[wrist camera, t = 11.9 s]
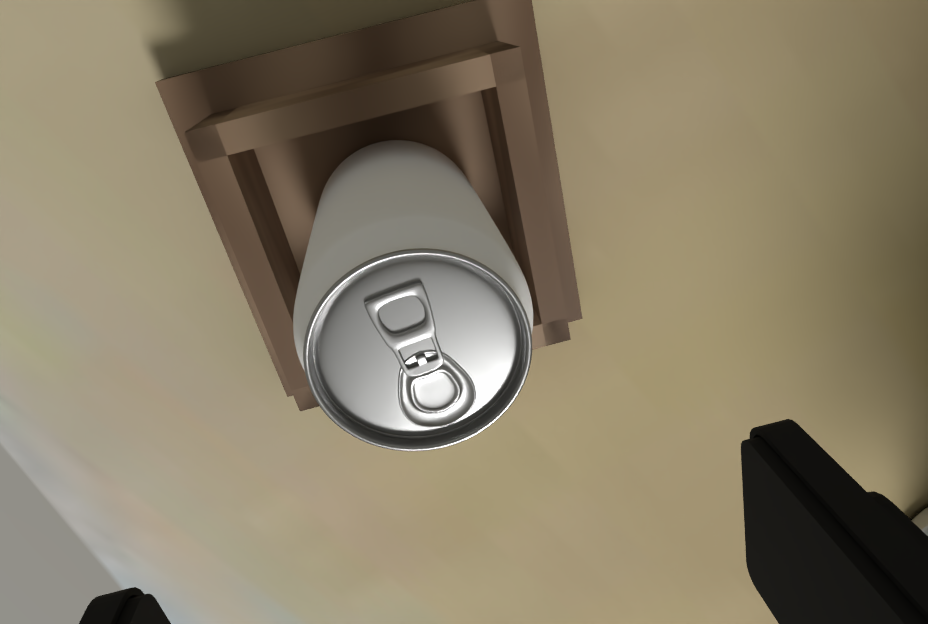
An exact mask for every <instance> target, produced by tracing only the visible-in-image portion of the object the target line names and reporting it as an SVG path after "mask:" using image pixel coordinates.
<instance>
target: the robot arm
mask: <svg viewBox="0 0 928 624" xmlns="http://www.w3.org/2000/svg"><path fill="white" fill-rule="evenodd" d="M741 460H742V480H743V501H744V522H745V542H746V562H747V568H748V572H749V575H750V577H751V580H752V582H753V584H754V586H755V587H756V589H757V591H758V592H759V594H760V595H761V597H762V598H763V600H764V601H765V603H766V604H767V606H768V608H769V609H770V611H771V612H772V614H773V615H774V617H775V618H776V620H777V621H778V623H779V624H928V507H927V508H926V509H924V510H923V511H921V512H920V513H919V514H918V515H917V516H916V517H915V518H913V519H912V520H910V519H909V518H908V517H907V516H906V515H905V514H904V513H903V512H902V511H901V510H900V509H899V508H898V507H897V506H896V505H895V504H894V503H892V502H891V501H890V500H889V499H887V498H886V497H885V496H883V495H882V494H879V493H877V492H874V491H873V492H866V491H865V490H864V489H863V488H862V487H861V486H860V485H859V484H858V483H857V482H856V481H855V480H854V479H853V478H852V477H851V476H850V475H849V474H848V473H847V472H846V471H845V470H844V469H843V468H842V467H841V466H840V465H839V464H838V463H837V462H836V461H835V460H834V459H833V458H832V457H831V456H830V455H828V454H827V453H826V452H825V451H824V450H823V449H822V448H821V447H820V446H819V445H818V444H817V443H816V442H815V441H814V440H813V439H812V438H811V437H810V436H809V435H808V434H807V433H806V432H805V431H804V430H803V429H802V428H801V427H800V426H799V425H798V424H797V423H796V422H794V421H793V420H790V419H786V420H783V421H779V422H775V423H771V424H767V425H763V426H759V427H755V428H753V429H752V430H751V432H750V439H748V440H744V441H742V443H741ZM79 624H171V623H170V621H169V620H168V618H167V617H166V615H165V613H164V612H163V610H162V609H161V607H160V605H159V604H158V602H157V601H156V599H155V598H154V597H153V595H151V594H144V593H143V592H142V591H141V590H140V589H138V588H136V587H134V588H129V589H125V590H121V591H117V592H114V593H110V594H105V595H102V596H98V597H96V598H95V599H93V600H92V601H91V603H90V604H89V605H88V607H87V609H86V611H85V613H84V615H83V617H82V619H81V621H80V623H79Z"/></svg>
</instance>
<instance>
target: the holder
mask: <svg viewBox="0 0 928 624" xmlns="http://www.w3.org/2000/svg"><path fill="white" fill-rule="evenodd" d="M155 83H156V86H157V88H158V91H159V93H160V95H161V98H162V100H163V102H164V105H165V107H166V110H167V112H168V114H169V117H170V119H171V121H172V124H173V126H174V129H175V131H176V133H177V136H178V138H179V140H180V143H181V145H182V148H183V150H184V152H185V155H186V157H187V159H188V162H189V164H190V167H191V169H192V171H193V174H194V176H195V178H196V181H197V183H198V186H199V188H200V190H201V193H202V195H203V197H204V200H205V202H206V205H207V207H208V209H209V212H210V214H211V216H212V219H213V221H214V224H215V226H216V228H217V231H218V233H219V235H220V238H221V240H222V242H223V245H224V247H225V250H226V252H227V254H228V257H229V259H230V261H231V264H232V266H233V269H234V271H235V273H236V276H237V278H238V280H239V283H240V285H241V288H242V290H243V292H244V295H245V297H246V299H247V302H248V304H249V307H250V309H251V311H252V314H253V316H254V318H255V321H256V323H257V326H258V328H259V330H260V333H261V335H262V337H263V340H264V342H265V345H266V347H267V349H268V352H269V354H270V356H271V359H272V361H273V364H274V366H275V368H276V371H277V373H278V375H279V378H280V380H281V383H282V385H283V387H284V390H285V392H286V394H287V397H289V396H292V395H293V396H294V398H295V401H296V403H297V405H298V408H299V410H300V411H303V410H307V409H311V408H314V407H318V406H319V404H318V403H317V401H316V400H315V398H314V396H313V394H312V392H311V390H310V387H309V385H308V382H307V378H306V375H305V371H304V369H303V367H302V365H301V362H300V360H299V357H298V354H297V351H296V346H295V341H294V332H293V314H294V305H295V299H296V294H297V289H298V285H299V280H300V276H301V272H302V268H303V263H304V259H305V255H306V251H307V247H308V243H309V239H310V235H311V231H312V227H313V223H314V220H315V216H316V212H317V208H318V205H319V201H320V198H321V195H322V192H323V189H324V187H325V185H326V183H327V181H328V179H329V178H330V176H331V175H332V173H333V172H334V171H335V169H336V168H337V167H338V166H339V165H340V164H341V163H342V162H343V161H344V160H345V159H346V158H347V157H349V156H350V155H351V154H353V153H354V152H356V151H358V150H360V149H362V148H364V147H366V146H368V145H371V144H374V143H378V142H383V141H389V140H406V141H413V142H417V143H421V144H424V145H427V146H429V147H432V148H434V149H436V150H438V151H439V152H441V153H442V154H444V155H445V156H447V157H448V158H449V159H450V160H452V161H453V162H454V163H455V164H456V165H457V166H458V167H459V168H460V170H461V171H462V172H463V174H464V175H465V176H466V178H467V179H468V181H469V182H470V184H471V185H472V187H473V189H474V190H475V192H476V193H477V195H478V197H479V198H480V200H481V202H482V203H483V205H484V206H485V208H486V210H487V211H488V213H489V215H490V216H491V218H492V220H493V221H494V223H495V225H496V226H497V228H498V230H499V231H500V233H501V235H502V236H503V238H504V240H505V241H506V243H507V245H508V247H509V248H510V250H511V252H512V254H513V255H514V257H515V259H516V261H517V262H518V264H519V266H520V268H521V270H522V273H523V275H524V277H525V279H526V282H527V285H528V288H529V292H530V296H531V300H532V307H533V330H532V350H533V349H536V348H540V347H544V346H548V345H551V344H555V343H559V342H563V341H567V340H570V333H569V328H568V322H572V321H575V320H579V319H582V314H581V307H580V301H579V295H578V288H577V282H576V276H575V270H574V263H573V257H572V251H571V245H570V238H569V232H568V226H567V219H566V213H565V207H564V201H563V194H562V188H561V182H560V176H559V169H558V163H557V157H556V151H555V144H554V138H553V132H552V125H551V119H550V113H549V107H548V100H547V94H546V88H545V82H544V75H543V69H542V63H541V56H540V50H539V44H538V38H537V31H536V25H535V19H534V13H533V6H532V0H474V1H470V2H466V3H462V4H458V5H454V6H450V7H446V8H442V9H438V10H434V11H431V12H427V13H423V14H419V15H415V16H411V17H407V18H403V19H399V20H395V21H391V22H387V23H383V24H379V25H375V26H371V27H367V28H363V29H359V30H356V31H352V32H348V33H344V34H340V35H336V36H332V37H328V38H324V39H320V40H316V41H312V42H308V43H304V44H300V45H296V46H292V47H288V48H284V49H281V50H277V51H273V52H269V53H265V54H261V55H257V56H253V57H249V58H245V59H241V60H237V61H233V62H229V63H225V64H221V65H217V66H213V67H209V68H206V69H202V70H198V71H194V72H190V73H186V74H182V75H178V76H174V77H170V78H166V79H163V80H160V81H157V82H155Z"/></svg>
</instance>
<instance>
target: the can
mask: <svg viewBox="0 0 928 624" xmlns="http://www.w3.org/2000/svg"><path fill="white" fill-rule="evenodd" d="M532 330H533V307H532V300H531V296H530V292H529V288H528V285H527V282H526V279H525V277H524V275H523V273H522V270H521V268H520V266H519V264H518V262H517V261H516V259H515V257H514V255H513V254H512V252H511V250H510V248H509V247H508V245H507V243H506V241H505V240H504V238H503V236H502V235H501V233H500V231H499V230H498V228H497V226H496V225H495V223H494V221H493V220H492V218H491V216H490V215H489V213H488V211H487V210H486V208H485V206H484V205H483V203H482V202H481V200H480V198H479V197H478V195H477V193H476V192H475V190H474V189H473V187H472V185H471V184H470V182H469V181H468V179H467V178H466V176H465V175H464V174H463V172H462V171H461V170H460V168H459V167H458V166H457V165H456V164H455V163H454V162H453V161H452V160H450V159H449V158H448V157H447V156H445V155H444V154H442V153H441V152H439V151H438V150H436V149H434V148H432V147H429V146H427V145H424V144H421V143H417V142H413V141H406V140H389V141H383V142H378V143H374V144H371V145H368V146H366V147H364V148H362V149H360V150H358V151H356V152H354V153H353V154H351V155H350V156H349V157H347V158H346V159H345V160H344V161H343V162H342V163H341V164H340V165H339V166H338V167H337V168H336V169H335V171H334V172H333V173H332V175H331V176H330V178H329V179H328V181H327V183H326V185H325V187H324V189H323V192H322V195H321V198H320V201H319V205H318V208H317V212H316V216H315V220H314V223H313V227H312V231H311V235H310V239H309V243H308V247H307V251H306V255H305V259H304V263H303V268H302V272H301V276H300V280H299V285H298V289H297V294H296V299H295V305H294V314H293V332H294V341H295V346H296V351H297V354H298V357H299V360H300V362H301V365H302V367H303V369H304V371H305V375H306V378H307V382H308V385H309V387H310V390H311V392H312V394H313V396H314V398H315V400H316V401H317V403H318V404H319V406H320V407H321V409H322V410H323V411H324V412H325V414H326V415H327V416H328V417H329V418H330V419H331V420H332V421H333V422H334V423H335V424H337V425H338V426H339V427H340V428H342V429H343V430H344V431H346V432H347V433H349V434H351V435H352V436H354V437H356V438H358V439H360V440H362V441H364V442H367V443H369V444H372V445H375V446H379V447H382V448H387V449H392V450H400V451H426V450H434V449H439V448H443V447H447V446H451V445H454V444H457V443H459V442H462V441H464V440H467V439H469V438H471V437H473V436H475V435H476V434H478V433H480V432H481V431H483V430H485V429H486V428H487V427H489V426H490V425H491V424H493V423H494V422H495V421H496V420H497V419H499V418H500V417H501V416H502V415H503V414H504V413H505V412H506V410H507V409H508V408H509V407H510V406H511V404H512V403H513V402H514V400H515V399H516V397H517V396H518V394H519V392H520V391H521V389H522V387H523V385H524V382H525V380H526V377H527V375H528V371H529V368H530V363H531V357H532Z"/></svg>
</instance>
